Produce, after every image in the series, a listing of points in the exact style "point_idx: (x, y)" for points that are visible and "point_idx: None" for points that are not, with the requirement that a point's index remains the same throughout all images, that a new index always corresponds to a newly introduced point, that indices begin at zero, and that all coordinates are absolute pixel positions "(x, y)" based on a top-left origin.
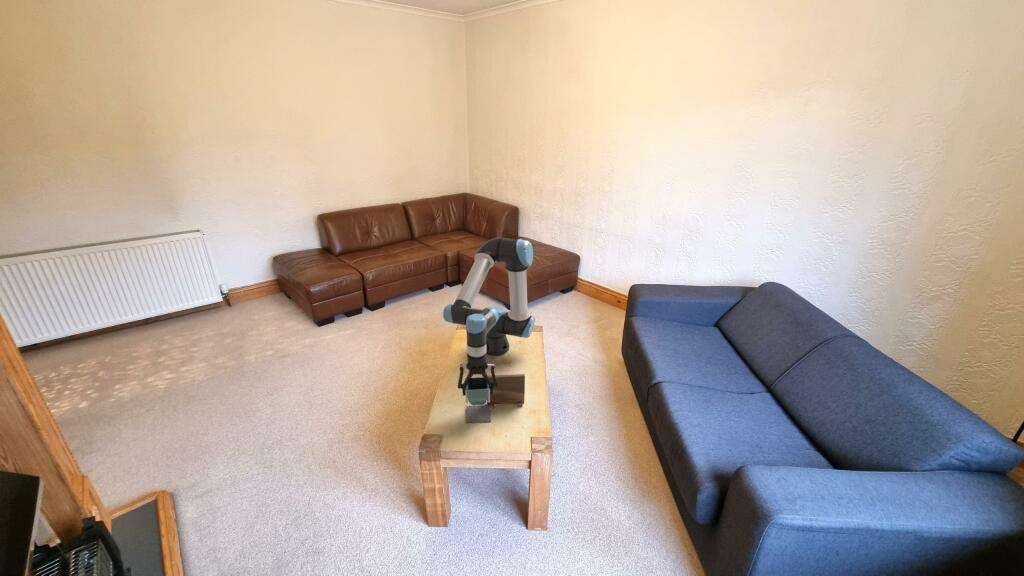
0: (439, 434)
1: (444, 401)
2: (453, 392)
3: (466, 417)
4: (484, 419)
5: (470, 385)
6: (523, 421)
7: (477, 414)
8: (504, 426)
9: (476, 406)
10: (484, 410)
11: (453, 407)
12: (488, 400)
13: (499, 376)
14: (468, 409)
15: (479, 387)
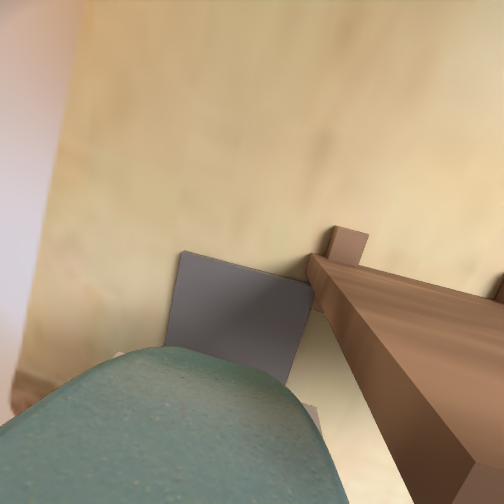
0: (45, 383)
1: (68, 155)
2: (127, 73)
3: (166, 339)
4: None
5: (81, 408)
6: None
7: (226, 337)
8: (331, 442)
9: (236, 274)
10: (271, 322)
11: (115, 227)
12: None
13: None
14: (187, 284)
15: (225, 416)
